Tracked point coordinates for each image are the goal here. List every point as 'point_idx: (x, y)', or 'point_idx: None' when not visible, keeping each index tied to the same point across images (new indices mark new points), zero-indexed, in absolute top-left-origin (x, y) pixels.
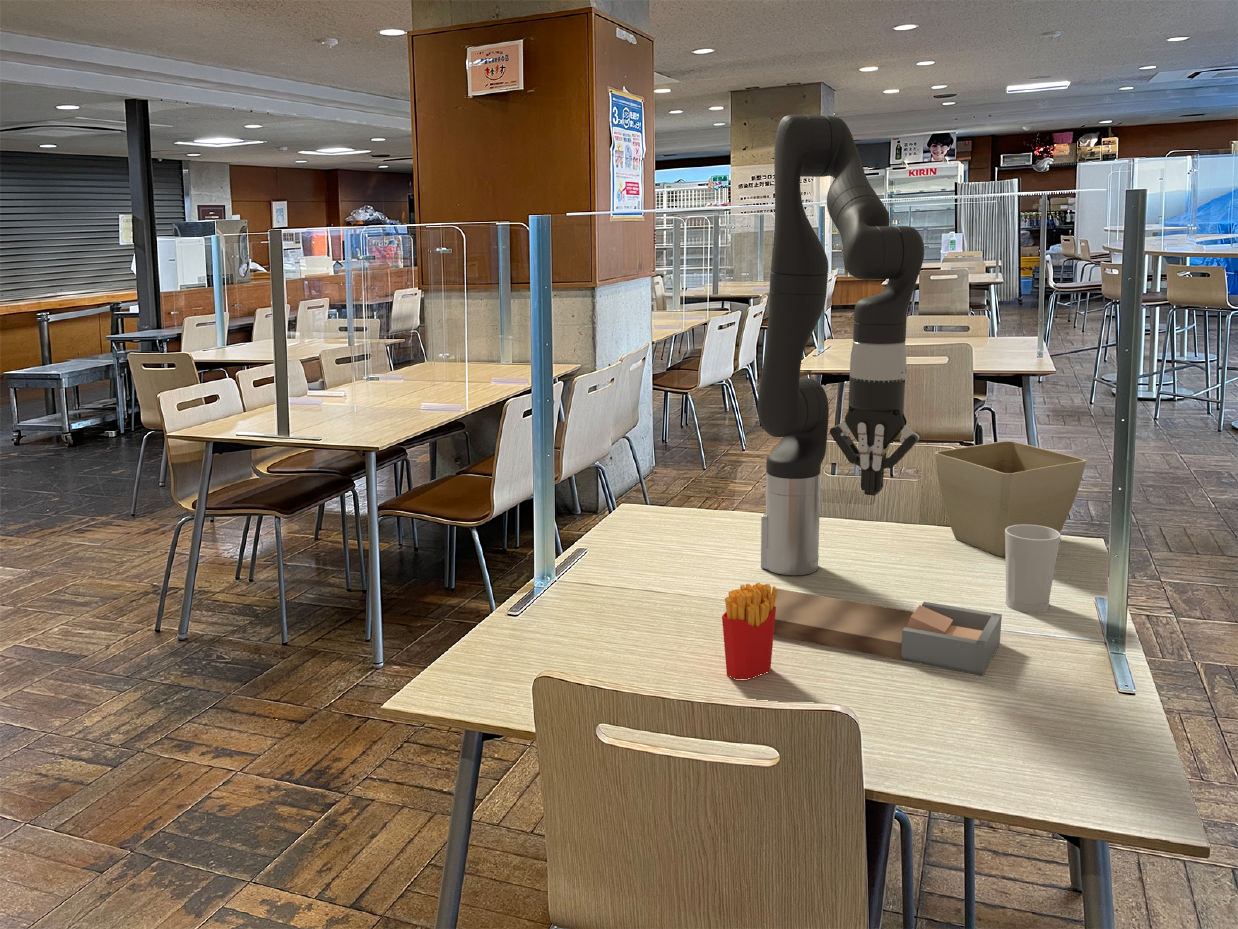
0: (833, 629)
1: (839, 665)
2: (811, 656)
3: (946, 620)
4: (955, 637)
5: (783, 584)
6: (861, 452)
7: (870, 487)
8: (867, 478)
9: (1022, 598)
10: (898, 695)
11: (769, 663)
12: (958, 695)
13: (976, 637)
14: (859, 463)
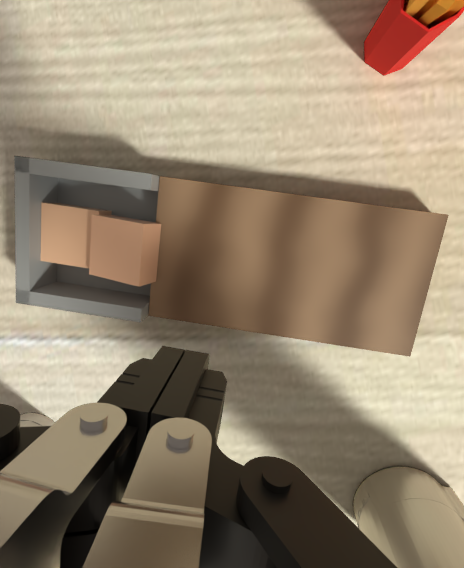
0: (278, 195)
1: (254, 120)
2: (304, 140)
3: (96, 261)
4: (63, 172)
5: (400, 429)
6: (179, 510)
7: (173, 361)
8: (179, 386)
9: (25, 425)
10: (148, 39)
11: (368, 35)
12: (67, 77)
13: (50, 230)
14: (224, 472)
